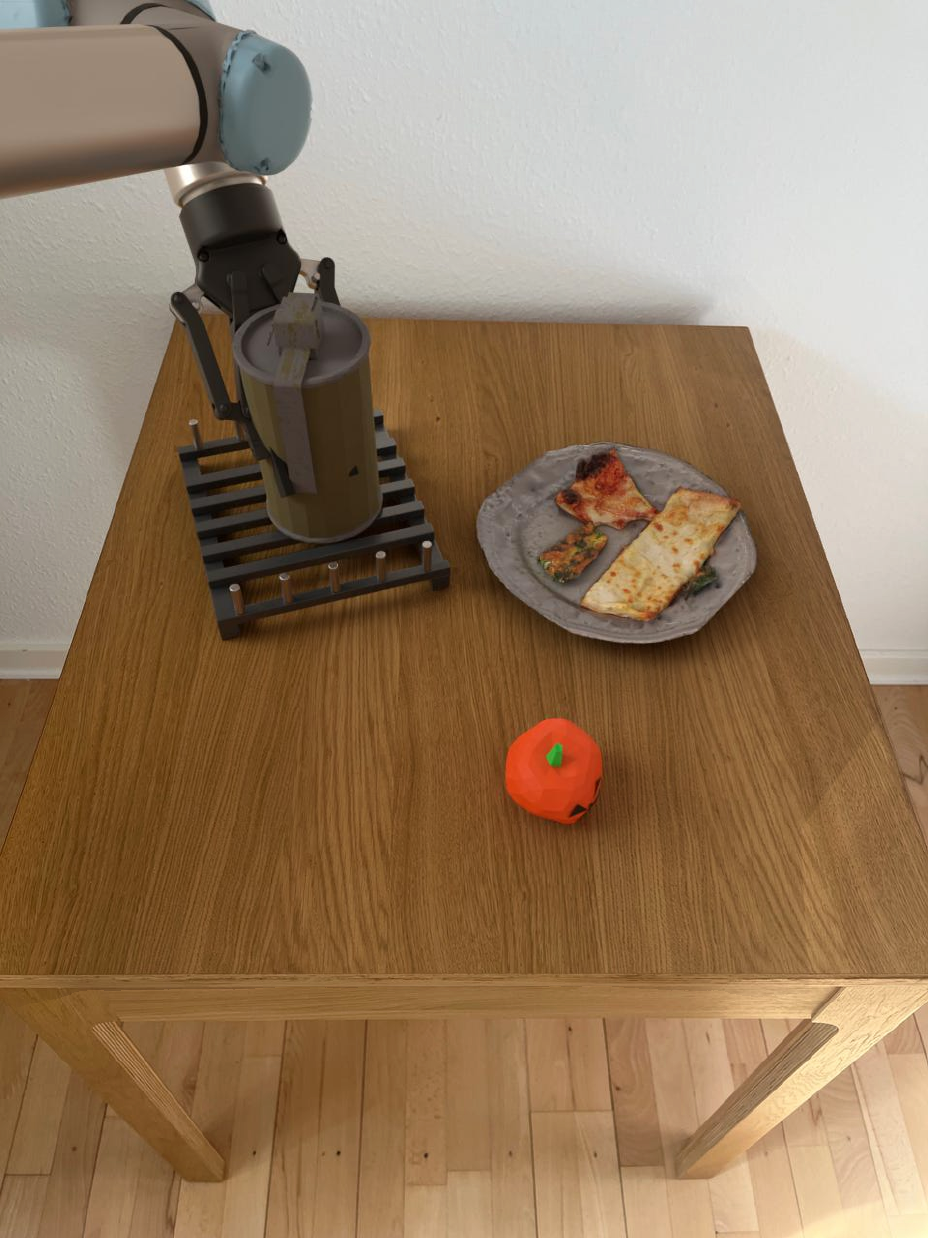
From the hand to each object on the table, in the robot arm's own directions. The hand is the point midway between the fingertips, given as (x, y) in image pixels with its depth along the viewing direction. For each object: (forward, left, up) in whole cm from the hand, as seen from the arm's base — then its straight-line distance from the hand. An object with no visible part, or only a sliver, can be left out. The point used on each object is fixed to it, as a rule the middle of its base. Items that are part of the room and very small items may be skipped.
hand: (319, 485), depth 77 cm
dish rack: (-1, +5, -9) cm, 10 cm away
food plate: (+25, -6, -9) cm, 28 cm away
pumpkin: (+10, -27, -9) cm, 31 cm away
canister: (+1, +4, -6) cm, 8 cm away
